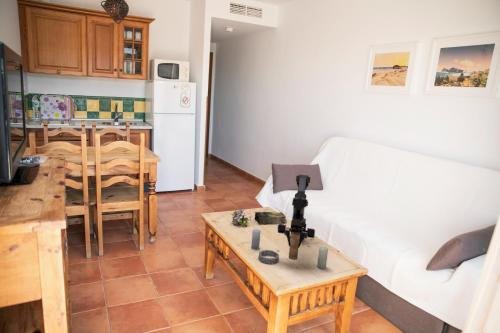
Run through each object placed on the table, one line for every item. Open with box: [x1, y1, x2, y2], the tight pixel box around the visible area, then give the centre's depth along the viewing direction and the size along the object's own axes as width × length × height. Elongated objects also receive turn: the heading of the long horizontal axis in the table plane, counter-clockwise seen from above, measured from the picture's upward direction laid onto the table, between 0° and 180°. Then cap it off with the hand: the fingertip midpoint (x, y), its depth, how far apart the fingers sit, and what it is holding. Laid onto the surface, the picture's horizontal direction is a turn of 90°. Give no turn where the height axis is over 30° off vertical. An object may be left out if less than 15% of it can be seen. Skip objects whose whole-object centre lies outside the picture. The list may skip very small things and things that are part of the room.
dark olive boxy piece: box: [254, 211, 287, 225], centre depth 233 cm, size 20×10×6 cm, turn 106°
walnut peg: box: [288, 232, 300, 261], centre depth 174 cm, size 4×4×13 cm
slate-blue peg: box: [250, 228, 261, 251], centre depth 192 cm, size 4×4×10 cm
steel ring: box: [257, 249, 280, 265], centre depth 181 cm, size 10×10×2 cm
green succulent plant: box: [231, 208, 252, 228], centre depth 225 cm, size 11×11×12 cm
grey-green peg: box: [316, 246, 329, 270], centre depth 176 cm, size 4×4×10 cm
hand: (294, 246), depth 172 cm, fingers closed on walnut peg, 4 cm apart
